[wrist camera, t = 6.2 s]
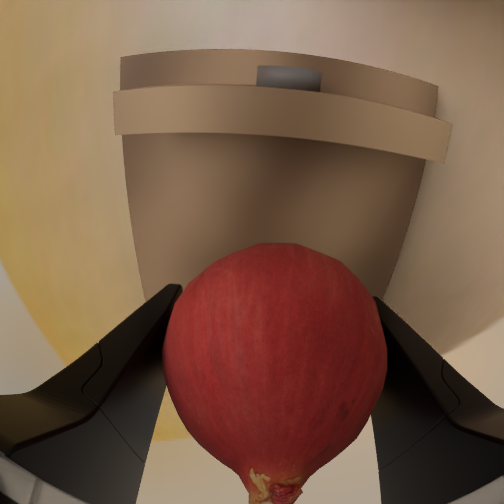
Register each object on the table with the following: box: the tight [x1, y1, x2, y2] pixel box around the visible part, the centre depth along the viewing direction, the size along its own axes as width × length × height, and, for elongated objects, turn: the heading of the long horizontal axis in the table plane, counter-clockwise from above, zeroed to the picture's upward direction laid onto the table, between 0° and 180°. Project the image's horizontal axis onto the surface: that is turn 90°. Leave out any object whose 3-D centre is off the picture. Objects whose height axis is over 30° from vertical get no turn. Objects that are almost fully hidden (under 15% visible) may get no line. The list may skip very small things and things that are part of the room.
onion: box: [162, 243, 387, 504], centre depth 7 cm, size 6×6×8 cm
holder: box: [113, 49, 452, 302], centre depth 11 cm, size 12×15×4 cm
